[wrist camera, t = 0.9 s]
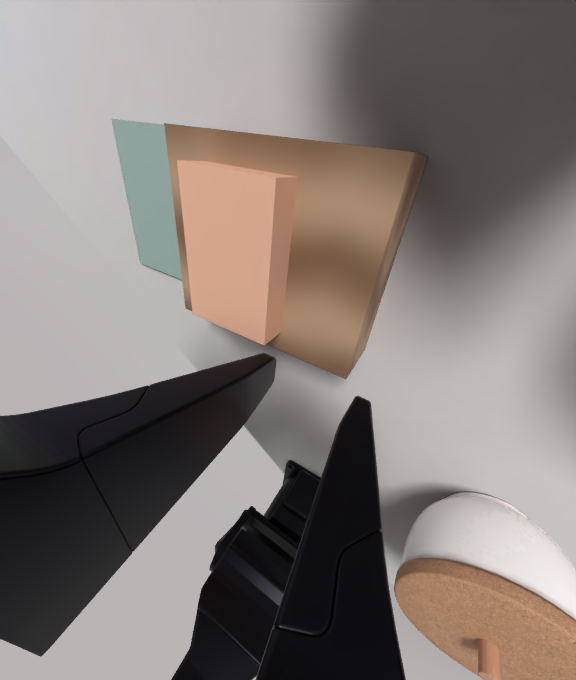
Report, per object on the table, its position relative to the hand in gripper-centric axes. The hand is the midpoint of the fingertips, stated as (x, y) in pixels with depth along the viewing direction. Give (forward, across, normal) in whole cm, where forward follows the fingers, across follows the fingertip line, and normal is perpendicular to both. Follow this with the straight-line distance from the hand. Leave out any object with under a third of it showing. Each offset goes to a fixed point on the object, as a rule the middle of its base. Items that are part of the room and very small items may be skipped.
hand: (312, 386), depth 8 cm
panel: (+12, +20, 0) cm, 23 cm away
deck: (+12, +8, 0) cm, 14 cm away
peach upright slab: (+8, +8, 0) cm, 12 cm away
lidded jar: (+12, -12, +17) cm, 24 cm away
